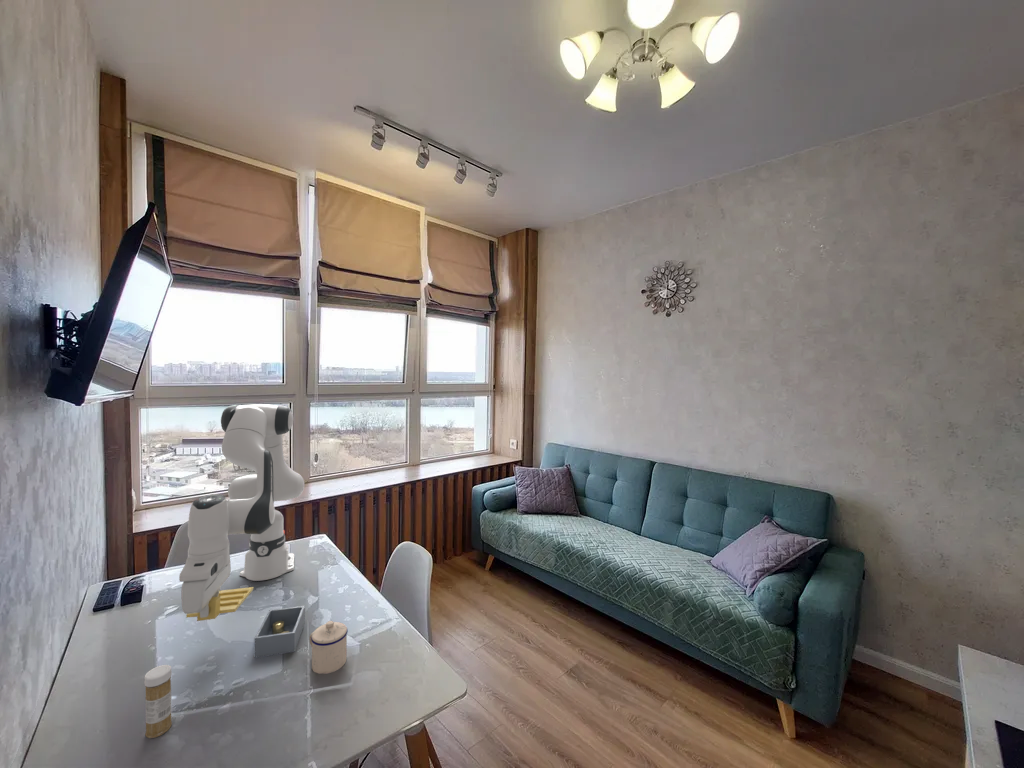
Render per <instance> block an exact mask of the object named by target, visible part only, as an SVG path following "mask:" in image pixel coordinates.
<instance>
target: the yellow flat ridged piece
mask: <svg viewBox="0 0 1024 768" xmlns="http://www.w3.org/2000/svg"><path fill="white" fill-rule="evenodd" d="M253 591H254V586H251V587H243V588H242V587H241V588H233V589H222V590H221V589H220V591H219V595H218V597H212V598H211V599H210V601H209V604H208V606H209V607H210V614H209V615H208V616H207V617H204V618H201V617H200V612H198V613H191V614H185V615H186V617H185V618H195V617H196V619H197V620H196V621H197V622H200V621H208V620H216V618H218V616H219V615H221V614H228V613H235V612H236V611H237V610H238V609H239V608H240V607H241V605H242V604H243V603H244V602H245V600H246V599H247V598H248V597H249V596H250V594H251V593H252V592H253Z"/></svg>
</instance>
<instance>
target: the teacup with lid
mask: <svg viewBox="0 0 1024 768" xmlns="http://www.w3.org/2000/svg"><path fill="white" fill-rule="evenodd" d="M347 634H348V627H347V626H346V624H345V623H342V622H338V621H332V620H329V621H328V620H327V622H326V623H323V624H322V625H320V626H318V627H317V628H316V629H314V631H313V632H311V633H310V634H309V644H310V647H311V669H312V671H313V672H314V673H316V674H320V675H326V674H330V673H334V672H336V671H338V670H340V669H341V668H343V666H344V665H345V663H346V662H347V643H348V639H347V637H348V636H347Z"/></svg>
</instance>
